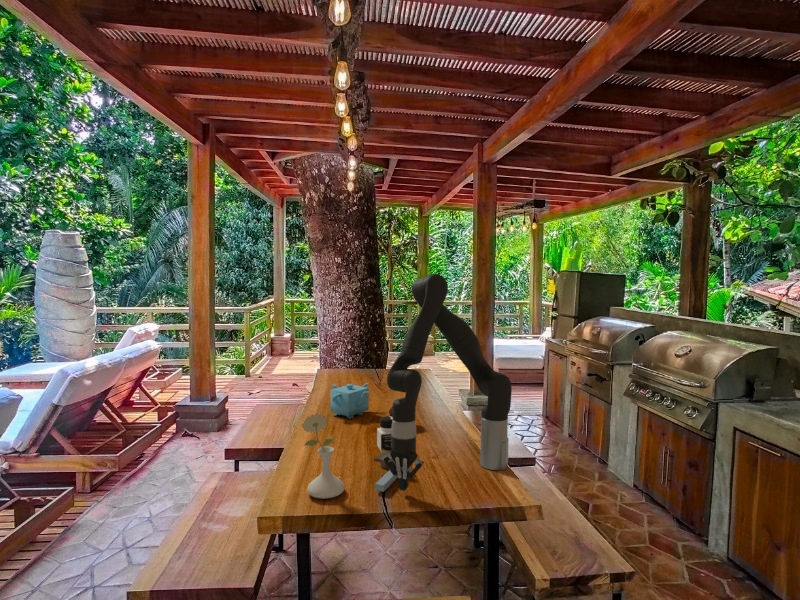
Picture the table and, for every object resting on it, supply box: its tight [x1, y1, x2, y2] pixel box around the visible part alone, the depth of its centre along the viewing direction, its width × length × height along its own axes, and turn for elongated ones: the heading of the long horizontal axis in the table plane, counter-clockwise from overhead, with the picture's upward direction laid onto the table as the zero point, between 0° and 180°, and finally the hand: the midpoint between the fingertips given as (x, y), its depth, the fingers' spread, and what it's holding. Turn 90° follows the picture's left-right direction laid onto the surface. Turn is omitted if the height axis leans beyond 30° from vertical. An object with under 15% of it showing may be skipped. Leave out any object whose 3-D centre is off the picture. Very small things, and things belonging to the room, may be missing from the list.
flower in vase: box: [301, 413, 345, 499], centre depth 142 cm, size 13×11×25 cm
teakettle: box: [330, 382, 370, 420], centre depth 222 cm, size 19×19×15 cm
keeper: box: [373, 451, 391, 470], centre depth 159 cm, size 4×7×5 cm, turn 157°
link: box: [374, 461, 398, 492], centre depth 150 cm, size 18×5×2 cm, turn 158°
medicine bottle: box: [376, 415, 392, 453], centre depth 179 cm, size 7×7×12 cm
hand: (403, 489), depth 142 cm, fingers closed
